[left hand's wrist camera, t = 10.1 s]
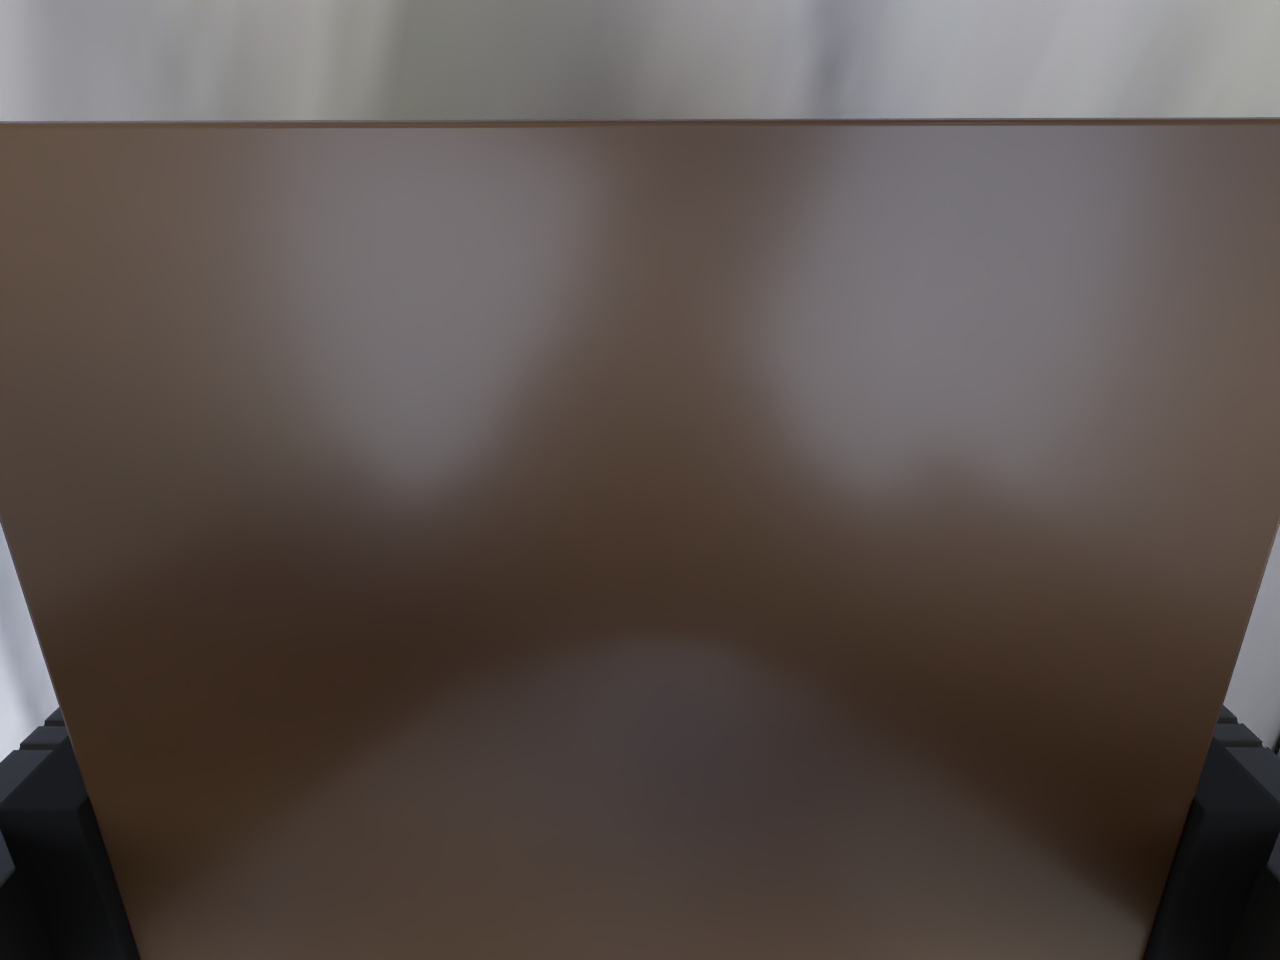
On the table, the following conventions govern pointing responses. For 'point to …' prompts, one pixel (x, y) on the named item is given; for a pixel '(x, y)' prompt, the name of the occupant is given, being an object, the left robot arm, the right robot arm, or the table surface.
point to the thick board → (640, 523)
